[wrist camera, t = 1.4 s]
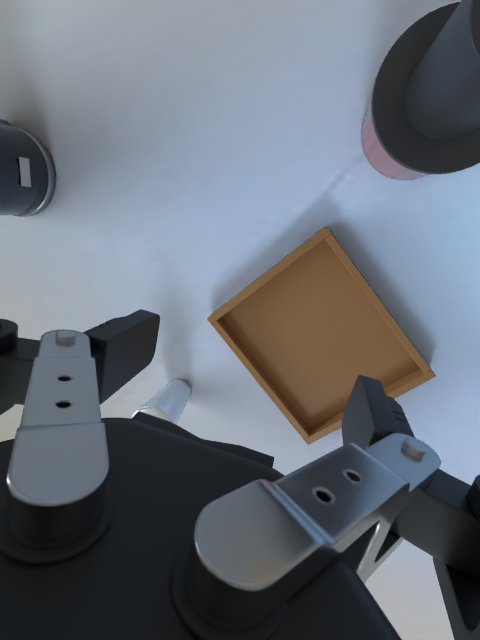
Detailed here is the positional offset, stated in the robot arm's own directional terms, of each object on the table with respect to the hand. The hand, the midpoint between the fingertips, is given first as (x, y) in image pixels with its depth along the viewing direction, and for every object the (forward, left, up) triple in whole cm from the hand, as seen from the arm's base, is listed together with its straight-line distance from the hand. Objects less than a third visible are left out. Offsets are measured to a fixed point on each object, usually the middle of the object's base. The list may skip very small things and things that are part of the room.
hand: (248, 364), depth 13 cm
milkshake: (+3, -20, -25) cm, 32 cm away
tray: (+8, -2, -25) cm, 26 cm away
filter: (-4, +16, -17) cm, 24 cm away
